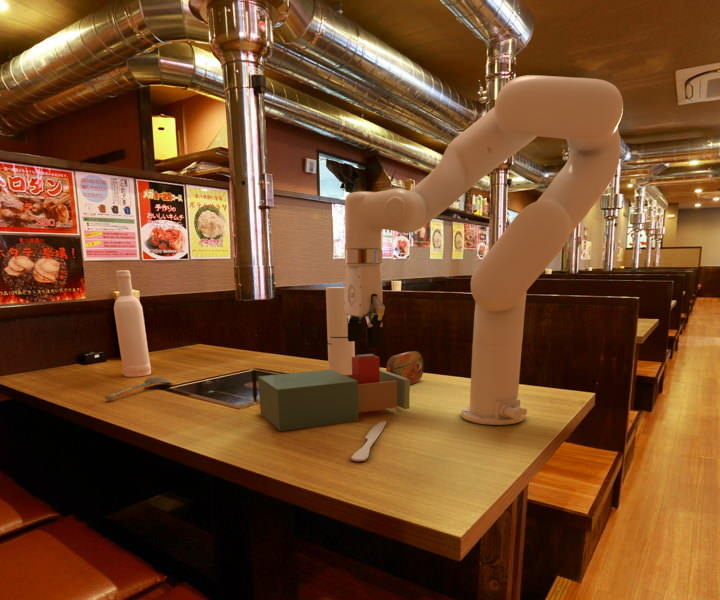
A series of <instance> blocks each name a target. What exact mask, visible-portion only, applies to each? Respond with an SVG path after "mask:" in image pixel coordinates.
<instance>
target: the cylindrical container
mask: <svg viewBox="0 0 720 600" xmlns="http://www.w3.org/2000/svg"><path fill="white" fill-rule="evenodd" d="M344 287H345V286H327V287H325V303H326V305H325V306H326V332H327V334H326V335H327V363H328V370H334V371H336V372H338V373H341V374H343V375H347V374H352V357H355V356H356V348H355V343H356V342H355V341H351V342H350V341H348V322H347V314H346V313H345V312H344Z"/></svg>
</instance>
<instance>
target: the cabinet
mask: <svg viewBox="0 0 720 600" xmlns="http://www.w3.org/2000/svg"><path fill="white" fill-rule="evenodd" d="M257 379H258V381H257V382H258V395H259V407H260V408H259V409H260V415H261V416H262V417H263V418H265V419H266V421H268V422H269V423H270V424H271V425H272V426H274V428H276V429H277V430H278V432H285V431H292V430H300V429H301V430H302V429H307V428H314V427H322V426H323V427H324V426H330V425H336V424H344V423H345V424H346V423H352V422H359V420H360V417H359V415H360V414H359V413H358V381H357V380H354V379H352V378H350V377H347V376H345V375H343V374H341V373H338V372H336V371H334V370H329V369H322V370H311V371H300V372H291V373H282V374H281V373H280V374H269V375H259V376H257Z"/></svg>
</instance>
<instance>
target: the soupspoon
mask: <svg viewBox="0 0 720 600" xmlns="http://www.w3.org/2000/svg"><path fill="white" fill-rule="evenodd" d="M157 384H162V385H172V384H173V382H171V380H169V379H167V378H164V377H160V376H153V377H150V378H149V377H148V378H147V379H145V380H144V383H142V384H141V383H140V384H138V385H137V384H136V385H134V386H132V387H128V388H126V389H125V388H124V389H123V390H121V391H118V392H114V393H111V394H106V395H105V396H104V398H105V400H106V401H107V402H111V401H112V400H113V399H114V398H115V397H118V396H119V395H120V394H124V393H126V392H129V391H132V390H135V389H138V388H142V387H146V386H151V385H157Z"/></svg>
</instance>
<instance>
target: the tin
mask: <svg viewBox="0 0 720 600" xmlns="http://www.w3.org/2000/svg"><path fill="white" fill-rule="evenodd" d="M385 367H386V368H385V371H387V372H390V373H393V374H396V375H399V376H401V377H404V378H407V379H410V386H411V385H414V384H416V383H418V382H419V381H420V380H421V379H422V377H423V374H424V367H425V364H424V359H423V356H422V354H421V353H420V352H419V351H415V350H414V351H406V352H403V353H399V354H395V355H392V356H391V357H389V359H388V360H387V363H386V366H385Z"/></svg>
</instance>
